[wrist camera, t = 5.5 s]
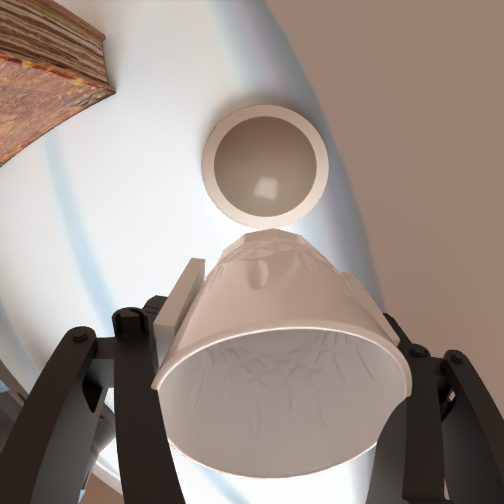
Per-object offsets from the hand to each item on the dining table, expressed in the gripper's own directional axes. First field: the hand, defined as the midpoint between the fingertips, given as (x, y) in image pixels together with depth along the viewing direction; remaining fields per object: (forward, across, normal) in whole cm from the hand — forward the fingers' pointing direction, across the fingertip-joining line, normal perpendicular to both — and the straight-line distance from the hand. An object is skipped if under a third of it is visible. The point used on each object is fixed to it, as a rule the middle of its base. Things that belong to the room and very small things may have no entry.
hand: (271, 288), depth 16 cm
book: (+16, +32, -14) cm, 38 cm away
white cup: (+1, 0, 0) cm, 1 cm away
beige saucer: (+16, 0, -6) cm, 17 cm away
